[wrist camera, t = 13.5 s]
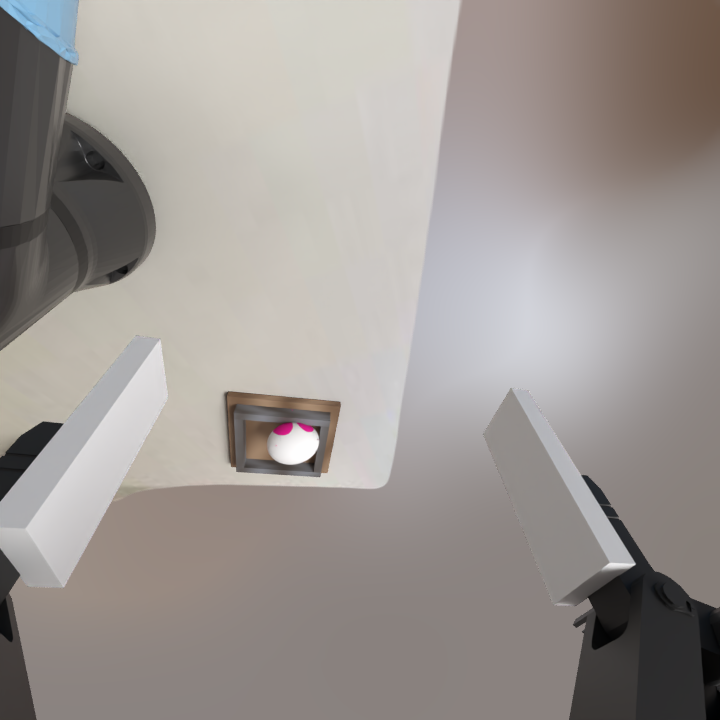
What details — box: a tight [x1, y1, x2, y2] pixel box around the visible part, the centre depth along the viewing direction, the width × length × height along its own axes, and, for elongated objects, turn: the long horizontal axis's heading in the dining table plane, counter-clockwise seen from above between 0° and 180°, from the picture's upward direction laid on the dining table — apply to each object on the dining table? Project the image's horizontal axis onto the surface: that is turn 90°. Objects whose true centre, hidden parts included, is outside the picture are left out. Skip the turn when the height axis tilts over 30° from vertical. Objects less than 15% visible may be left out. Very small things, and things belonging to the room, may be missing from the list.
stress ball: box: [267, 410, 319, 465], centre depth 53 cm, size 8×8×7 cm
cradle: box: [227, 392, 341, 477], centre depth 56 cm, size 16×16×3 cm
